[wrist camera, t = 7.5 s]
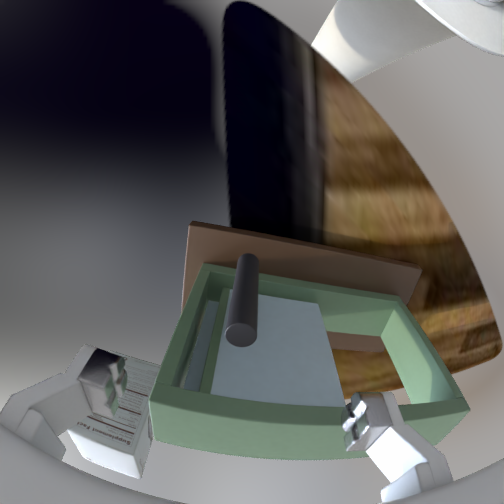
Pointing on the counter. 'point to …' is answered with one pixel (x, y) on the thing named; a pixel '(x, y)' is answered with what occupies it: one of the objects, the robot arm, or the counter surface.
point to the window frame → (339, 335)
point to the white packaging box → (121, 424)
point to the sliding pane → (269, 347)
